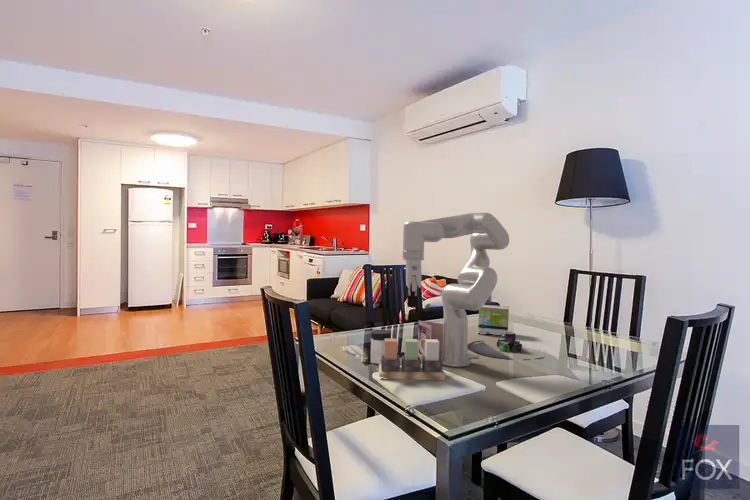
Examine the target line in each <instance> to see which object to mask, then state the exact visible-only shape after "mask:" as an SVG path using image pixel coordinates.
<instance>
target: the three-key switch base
mask: <svg viewBox="0 0 750 500" xmlns="http://www.w3.org/2000/svg"><path fill="white" fill-rule="evenodd" d="M400 359H401V360H400ZM400 363H401V364H400ZM379 377H383V378H389V379H388V380H404V381H405V380H406V381H407V380H410V381H411V380H414V381H417V380H418V381H446V373H445V371H444V370H443V364H442V360H441V358H440V357H439V361H426V359H425V356H422V357H420V356H418V360H405V355H401V358H400V355H397V360H384V355H381V364H378V378H379Z"/></svg>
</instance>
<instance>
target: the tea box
mask: <svg viewBox="0 0 750 500" xmlns="http://www.w3.org/2000/svg"><path fill="white" fill-rule="evenodd" d="M509 311H510V310H509V306H505V305H494V304H493V305H491V304H484V305H483V307H482V308H481V309H479V310H478V327H477V334H478V333H480V334H479V335H485V334H494V335H493V336H495V335H504V336H505V333H507V332H509V317H510V316H509V315H510V314H509Z"/></svg>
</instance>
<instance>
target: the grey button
mask: <svg viewBox="0 0 750 500" xmlns="http://www.w3.org/2000/svg"><path fill="white" fill-rule="evenodd" d="M425 359H426V361H439V341H438V340H437V339H425Z"/></svg>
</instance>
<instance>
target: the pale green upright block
mask: <svg viewBox="0 0 750 500" xmlns="http://www.w3.org/2000/svg"><path fill="white" fill-rule="evenodd" d="M404 356H405V360H418V339H417V338H404Z"/></svg>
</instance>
